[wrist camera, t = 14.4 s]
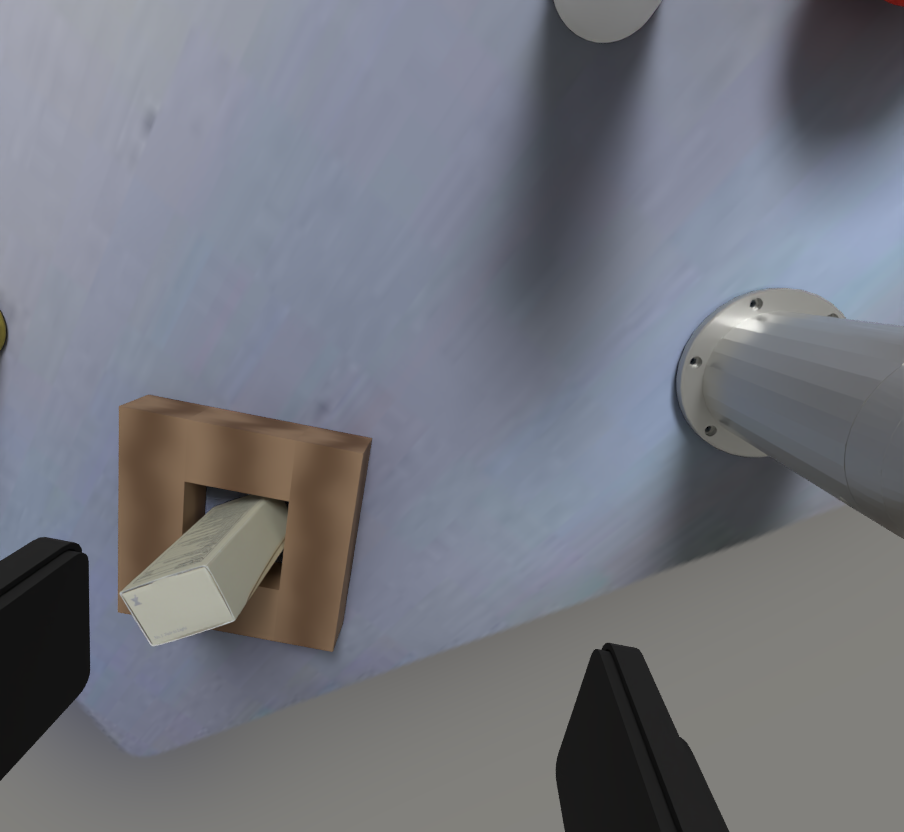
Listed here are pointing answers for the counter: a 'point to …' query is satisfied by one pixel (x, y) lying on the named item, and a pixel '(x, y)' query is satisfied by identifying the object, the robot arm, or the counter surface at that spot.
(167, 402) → the docking block
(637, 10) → the cylindrical container
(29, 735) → the robot arm
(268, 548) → the skincare box
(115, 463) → the counter surface
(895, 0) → the apple
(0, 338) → the vase
